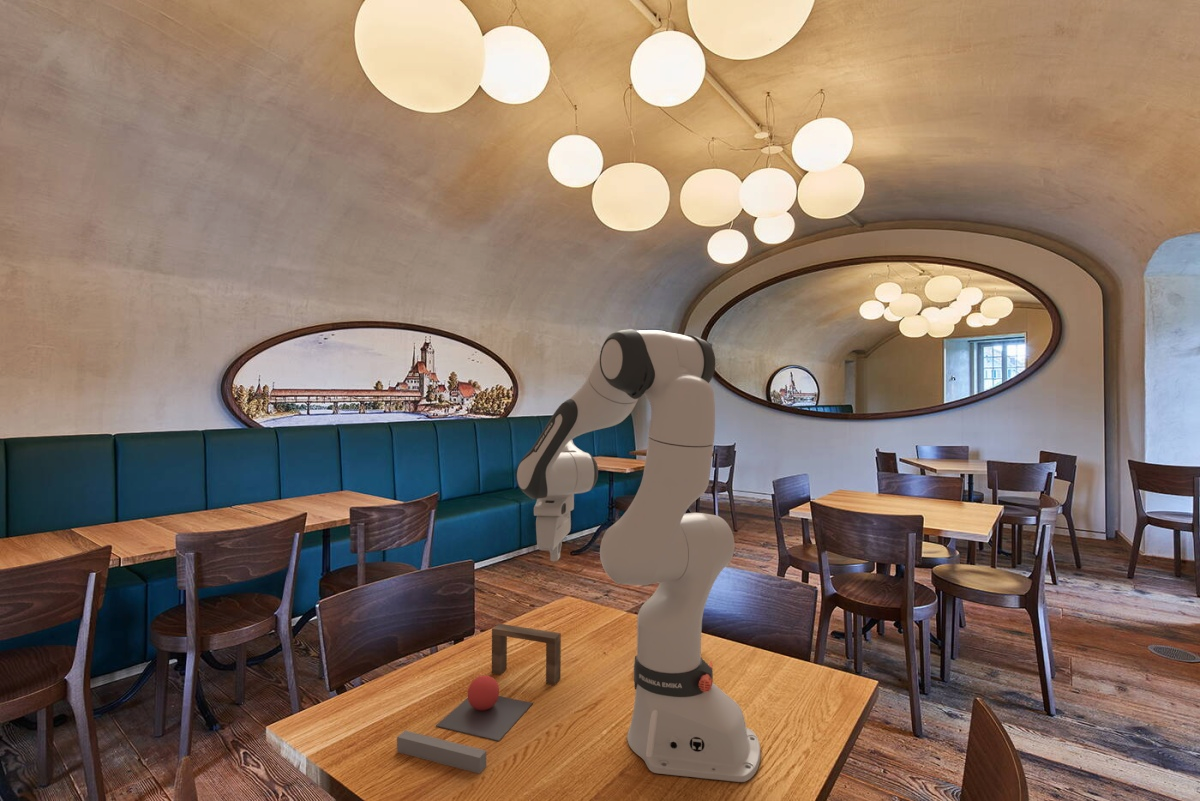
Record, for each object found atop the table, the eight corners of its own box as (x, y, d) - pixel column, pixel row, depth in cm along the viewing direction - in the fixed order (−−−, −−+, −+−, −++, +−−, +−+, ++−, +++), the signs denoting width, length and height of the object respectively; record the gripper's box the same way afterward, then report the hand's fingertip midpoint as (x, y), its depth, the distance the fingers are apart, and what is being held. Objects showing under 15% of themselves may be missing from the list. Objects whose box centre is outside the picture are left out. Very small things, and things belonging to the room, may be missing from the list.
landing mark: (532, 703, 109) (532, 702, 109) (498, 741, 97) (498, 740, 97) (475, 691, 113) (475, 690, 113) (435, 726, 101) (435, 725, 101)
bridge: (498, 667, 124) (499, 623, 124) (560, 678, 119) (560, 633, 119) (491, 673, 121) (491, 628, 121) (554, 685, 116) (554, 638, 116)
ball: (482, 713, 102) (499, 715, 107) (492, 678, 105) (509, 681, 109) (456, 704, 105) (474, 706, 110) (467, 670, 107) (484, 673, 112)
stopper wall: (486, 766, 90) (486, 750, 90) (479, 773, 88) (479, 757, 88) (404, 745, 95) (405, 730, 95) (397, 751, 94) (397, 736, 94)
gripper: (552, 495, 145) (552, 548, 145) (531, 509, 125) (531, 571, 125) (576, 495, 144) (576, 549, 144) (559, 510, 124) (558, 572, 124)
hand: (555, 559), depth 134 cm, fingers closed
